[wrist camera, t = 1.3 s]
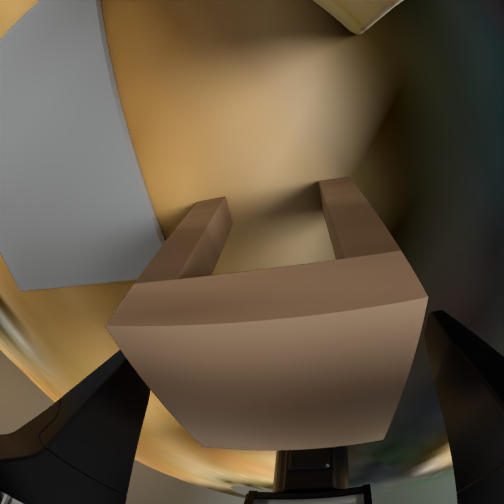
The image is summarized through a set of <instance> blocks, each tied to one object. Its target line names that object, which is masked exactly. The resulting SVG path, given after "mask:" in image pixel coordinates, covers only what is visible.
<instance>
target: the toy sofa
mask: <svg viewBox="0 0 504 504" xmlns="http://www.w3.org/2000/svg"><path fill="white" fill-rule="evenodd" d="M313 1H314V2H316V3H317V4H318V5H320V6H321V7H322V8H323V9H325V10H326V11H327V12H329V13H330V14H331V15H332V16H333V17H335V18H336V19H337V20H338V21H339V22H340V23H341V24H343V25H344V26H345V27H346V28H347V29H348V30H349V31H351V32H353V33H354V34H361V33H363V32H364V31H366V30H367V29H368V28H369V27H371V26H372V25H373V24H374V23H375V22H377V21H378V20H379V19H380V18H381V17H383V16H384V15H385V14H386V13H387V12H389V11H390V10H391V9H392V8H394V7H395V6H396V5H398V4H399V3H400V2H402V1H403V0H313Z"/></svg>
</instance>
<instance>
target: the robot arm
mask: <svg viewBox="0 0 504 504" xmlns="http://www.w3.org/2000/svg"><path fill="white" fill-rule="evenodd" d="M425 341H426V346H427V350H428V355H429V360H430V365H431V370H432V375H433V380H434V384H435V388H436V392H437V395H438V399H439V402H440V406H441V410H442V414H443V418H444V422H445V427H446V431H447V436H448V441H449V446H450V451H451V456H452V462H453V469H454V475H455V483H456V491H457V503H458V504H504V357H503V356H502V355H501V354H500V353H498V352H497V351H496V350H495V349H493V348H492V347H491V346H490V345H488V344H487V343H486V342H485V341H483V340H482V339H481V338H479V337H478V336H477V335H476V334H474V333H473V332H472V331H470V330H469V329H468V328H466V327H465V326H464V325H462V324H461V323H460V322H458V321H457V320H456V319H454V318H453V317H452V316H450V315H449V314H447V313H446V312H445V311H443V310H438V311H434V312H431V313H430V314H429V316H428V321H427V325H426V329H425ZM149 396H150V388H149V387H148V386H147V385H146V383H145V382H144V381H143V379H142V378H141V377H140V376H139V374H138V373H137V372H136V370H135V369H134V368H133V366H132V365H131V364H130V362H129V361H128V360H127V358H126V357H125V355H124V354H123V353H122V351H121V350H119V351H118V352H117V353H115V354H114V355H113V356H112V357H110V358H109V359H108V360H107V361H106V362H104V363H103V364H102V365H101V366H99V367H98V368H97V369H96V370H94V371H93V372H92V373H91V374H90V375H88V376H87V377H86V378H85V379H83V380H82V381H81V382H80V383H79V384H77V385H76V386H75V387H74V388H72V389H71V390H70V391H69V392H68V393H66V394H65V395H64V396H63V397H62V398H60V399H59V400H58V401H56V402H55V403H54V404H53V405H52V406H50V407H49V408H48V409H46V410H45V411H44V412H42V413H41V414H40V415H38V416H37V417H35V418H34V419H32V420H31V421H30V422H28V423H27V424H25V425H24V426H22V427H21V428H20V429H18V430H16V431H15V432H13V433H10V434H4V435H0V504H125V502H126V497H127V496H126V495H127V492H128V487H129V482H130V476H131V472H132V467H133V462H134V458H135V454H136V449H137V445H138V441H139V437H140V433H141V429H142V425H143V421H144V417H145V413H146V409H147V405H148V401H149ZM349 502H356V504H372V498H371V489H370V484H367V485H362V486H361V487H354V488H349V471H348V448H347V445H346V446H337V447H328V448H317V449H302V450H277V452H276V463H275V473H274V483H273V492H258V491H249V493H248V494H246V498H245V502H244V504H341V503H349Z"/></svg>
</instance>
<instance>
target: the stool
mask: <svg viewBox="0 0 504 504" xmlns="http://www.w3.org/2000/svg"><path fill="white" fill-rule="evenodd" d="M319 188H320V195H321V202H322V210H323V214H324V217H325V221H326V224H327V228H328V231H329V235H330V239H331V242H332V246H333V250H334V254H335V257H336V260H332V261H324V262H317V263H309V264H302V265H294V266H286V267H278V268H270V269H262V270H254V271H246V272H237V273H229V274H220V275H212V273H213V270H214V268H215V266H216V263H217V261H218V258H219V256H220V253H221V251H222V249H223V246H224V244H225V241H226V239H227V237H228V234H229V232H230V229H231V227H232V225H233V224H232V220H231V217H230V213H229V209H228V205H227V202H226V198H225V197H221V198H215V199H210V200H205V201H200V202H197V203H196V204H195V205H194V206H193V207H192V209H191V210H190V211H189V212H188V213H187V215H186V216H185V217H184V218H183V220H182V221H181V222H180V223H179V225H178V226H177V227H176V228H175V230H174V231H173V232H172V234H171V235H170V236H169V237H168V239H167V240H166V241H165V243H164V244H163V245H162V246H161V248H160V249H159V250H158V252H157V253H156V254H155V256H154V257H153V258H152V260H151V261H150V262H149V264H148V265H147V266H146V268H145V269H144V270H143V272H142V273H141V275H140V276H139V277H138V279H137V280H136V281H135V283H134V284H133V286H132V287H131V288H130V290H129V291H128V293H127V294H126V296H125V297H124V298H123V300H122V301H121V303H120V304H119V306H118V307H117V309H116V310H115V312H114V313H113V314H112V316H111V317H110V319H109V320H108V322H107V323H106V325H105V327H106V329H107V330H108V332H109V333H110V335H111V336H112V338H113V339H114V341H115V342H116V344H117V345H118V347H119V348H120V350H121V351H122V353H123V354H124V355H125V357H126V358H127V360H128V361H129V362H130V364H131V365H132V366H133V368H134V369H135V370H136V372H137V373H138V374H139V376H140V377H141V378H142V379H143V381H144V382H145V383H146V385H147V386H148V387H149V388H150V390H151V391H152V392H153V393H154V394H155V396H156V397H157V398H158V399H159V400H160V402H161V403H162V404H163V405H164V406H165V407H166V409H167V410H168V411H169V412H170V413H171V414H172V415H173V417H174V418H175V419H176V420H177V421H178V422H179V423H180V424H181V425H182V426H183V427H184V429H185V430H186V431H187V432H188V433H189V434H190V435H191V436H192V437H193V438H194V439H195V440H196V441H197V442H198V443H199V444H200V445H201V446H202V447H212V448H223V449H238V450H302V449H317V448H328V447H337V446H346V445H353V444H360V443H366V442H372V441H377V440H383V439H384V437H385V435H386V432H387V430H388V428H389V425H390V423H391V421H392V418H393V416H394V413H395V411H396V408H397V406H398V403H399V400H400V398H401V395H402V392H403V389H404V387H405V384H406V381H407V378H408V375H409V371H410V368H411V365H412V362H413V358H414V355H415V351H416V348H417V344H418V340H419V336H420V332H421V328H422V324H423V320H424V315H425V311H426V306H427V301H428V296H427V294H426V292H425V290H424V288H423V287H422V285H421V283H420V281H419V280H418V278H417V276H416V274H415V273H414V271H413V269H412V268H411V266H410V264H409V263H408V261H407V259H406V258H405V256H404V255H403V253H402V251H401V250H400V248H399V247H398V245H397V243H396V242H395V240H394V239H393V237H392V236H391V234H390V233H389V231H388V230H387V228H386V227H385V225H384V224H383V222H382V221H381V219H380V218H379V217H378V215H377V214H376V212H375V211H374V209H373V208H372V207H371V205H370V204H369V202H368V201H367V200H366V198H365V197H364V196H363V194H362V193H361V192H360V190H359V189H358V188H357V186H356V185H355V184H354V182H353V181H352V180H351V178H350V177H348V178H340V179H332V180H324V181H319ZM211 275H212V276H211Z"/></svg>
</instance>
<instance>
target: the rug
mask: <svg viewBox="0 0 504 504" xmlns="http://www.w3.org/2000/svg"><path fill="white" fill-rule="evenodd" d="M164 243H165V239H164V237H163V234H162V231H161V229H160V226H159V223H158V220H157V218H156V215H155V212H154V209H153V206H152V204H151V201H150V198H149V195H148V192H147V189H146V186H145V183H144V180H143V177H142V174H141V171H140V167H139V164H138V161H137V158H136V154H135V151H134V148H133V144H132V141H131V138H130V134H129V131H128V127H127V123H126V120H125V116H124V112H123V109H122V105H121V101H120V97H119V93H118V89H117V85H116V80H115V76H114V72H113V67H112V62H111V58H110V53H109V48H108V43H107V37H106V32H105V26H104V20H103V14H102V7H101V0H40V1H39V2H37V3H36V4H35V5H34V6H33V7H32V8H31V9H30V10H29V11H28V12H26V13H25V14H24V15H23V16H22V17H21V18H20V19H19V20H18V21H17V22H16V23H15V24H14V25H13V26H12V27H11V28H10V29H9V30H8V31H7V33H6V34H5V35H4V36H3V37H2V38H1V39H0V253H1V255H2V257H3V259H4V261H5V263H6V265H7V267H8V269H9V271H10V273H11V275H12V277H13V278H14V280H15V282H16V284H17V286H18V287H19V289H20V291H29V290H40V289H50V288H60V287H71V286H81V285H90V284H100V283H109V282H119V281H128V280H137V279H138V277H139V276H140V275H141V273H142V272H143V270H144V269H145V268H146V266H147V265H148V264H149V262H150V261H151V260H152V258H153V257H154V256H155V254H156V253H157V252H158V250H159V249H160V248H161V246H162V245H163V244H164Z"/></svg>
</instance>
